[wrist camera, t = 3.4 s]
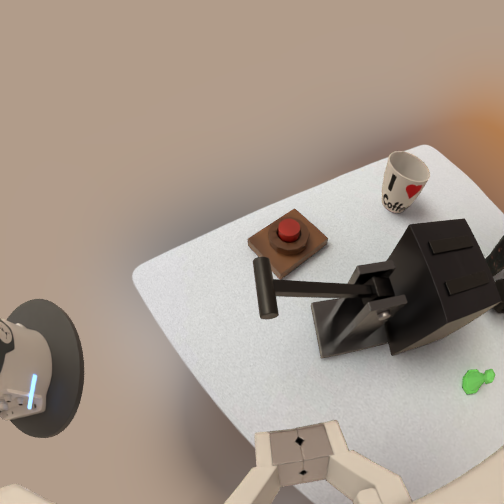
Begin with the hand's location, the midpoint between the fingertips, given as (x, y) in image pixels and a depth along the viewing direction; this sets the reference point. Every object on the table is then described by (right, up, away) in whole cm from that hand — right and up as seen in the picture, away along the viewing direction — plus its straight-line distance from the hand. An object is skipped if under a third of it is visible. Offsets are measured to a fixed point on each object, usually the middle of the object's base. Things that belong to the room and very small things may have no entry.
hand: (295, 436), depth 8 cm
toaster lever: (+5, +3, +17) cm, 18 cm away
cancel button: (+4, +9, +34) cm, 35 cm away
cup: (+26, +16, +40) cm, 51 cm away
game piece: (+33, -14, +21) cm, 42 cm away
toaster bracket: (+12, -4, +29) cm, 31 cm away
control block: (+4, +8, +36) cm, 38 cm away
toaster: (+23, -2, +29) cm, 37 cm away
